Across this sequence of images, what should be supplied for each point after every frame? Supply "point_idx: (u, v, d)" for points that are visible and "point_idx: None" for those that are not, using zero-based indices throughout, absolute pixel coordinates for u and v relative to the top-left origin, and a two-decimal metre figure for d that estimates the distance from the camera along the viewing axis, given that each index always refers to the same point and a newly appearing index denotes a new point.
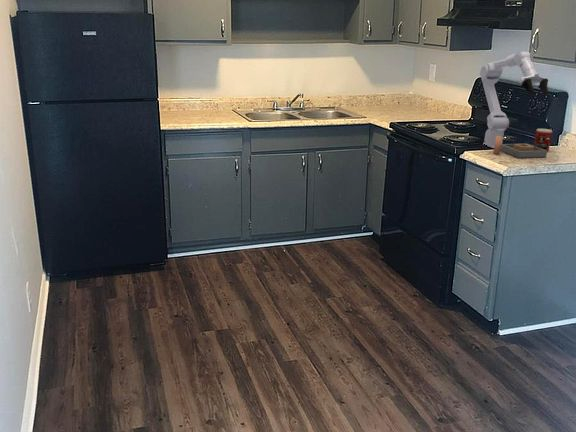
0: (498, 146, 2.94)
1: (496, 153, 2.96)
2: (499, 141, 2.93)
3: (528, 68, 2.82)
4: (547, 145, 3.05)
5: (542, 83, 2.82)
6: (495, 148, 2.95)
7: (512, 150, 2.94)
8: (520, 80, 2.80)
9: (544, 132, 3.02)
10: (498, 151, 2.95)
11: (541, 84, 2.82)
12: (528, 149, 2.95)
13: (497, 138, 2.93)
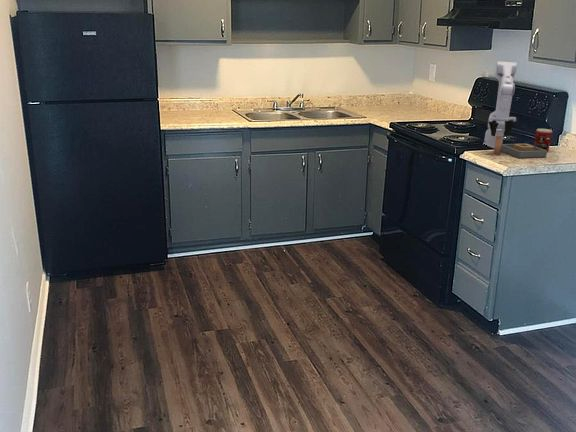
0: (498, 146, 2.94)
1: (496, 153, 2.96)
2: (499, 141, 2.93)
3: (500, 108, 2.88)
4: (547, 145, 3.05)
5: (508, 124, 2.92)
6: (495, 148, 2.95)
7: (512, 150, 2.94)
8: (489, 119, 2.89)
9: (544, 132, 3.02)
10: (498, 151, 2.95)
11: (507, 123, 2.93)
12: (528, 149, 2.95)
13: (497, 138, 2.93)
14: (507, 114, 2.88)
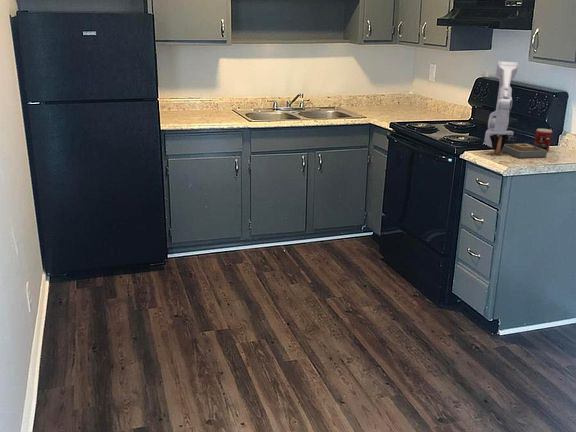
0: (498, 146, 2.94)
1: (496, 153, 2.96)
2: (499, 141, 2.93)
3: (498, 122, 2.90)
4: (547, 145, 3.05)
5: (502, 138, 2.94)
6: None
7: (512, 150, 2.94)
8: (487, 133, 2.91)
9: (544, 132, 3.02)
10: (498, 151, 2.95)
11: None
12: (528, 149, 2.95)
13: None
14: (504, 128, 2.90)
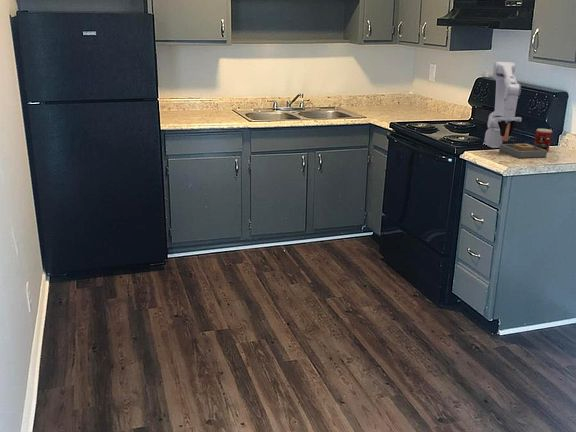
0: (506, 132, 2.92)
1: (504, 139, 2.94)
2: (507, 127, 2.91)
3: (507, 108, 2.88)
4: (547, 145, 3.05)
5: (510, 124, 2.92)
6: None
7: (512, 150, 2.94)
8: (495, 119, 2.90)
9: (544, 132, 3.02)
10: (506, 138, 2.93)
11: None
12: (528, 149, 2.95)
13: None
14: (513, 114, 2.88)
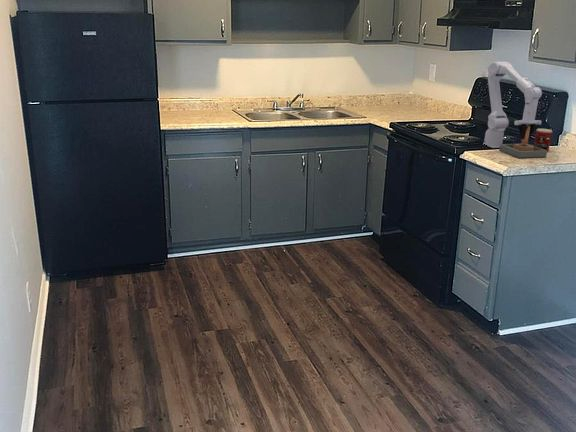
0: (526, 135, 2.94)
1: (524, 142, 2.96)
2: (527, 130, 2.94)
3: (531, 112, 2.89)
4: (547, 145, 3.05)
5: (530, 127, 2.94)
6: None
7: (512, 150, 2.94)
8: (515, 122, 2.92)
9: (544, 132, 3.02)
10: (526, 141, 2.95)
11: None
12: (528, 149, 2.95)
13: None
14: (533, 117, 2.90)
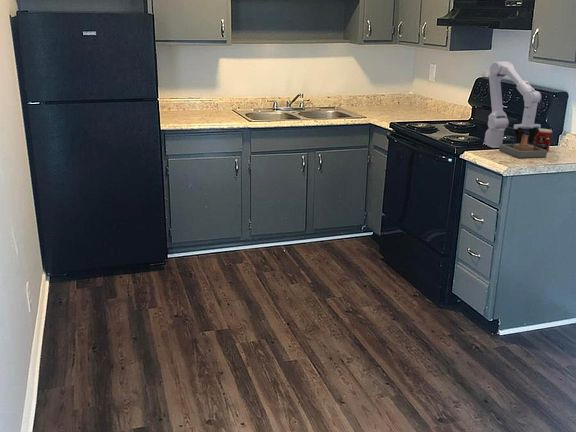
0: (524, 144, 2.96)
1: None
2: (525, 139, 2.96)
3: (530, 116, 2.90)
4: (547, 145, 3.05)
5: (532, 131, 2.95)
6: None
7: (512, 150, 2.94)
8: (514, 126, 2.92)
9: (544, 132, 3.02)
10: None
11: (531, 131, 2.96)
12: (528, 149, 2.95)
13: (523, 136, 2.96)
14: (532, 121, 2.91)
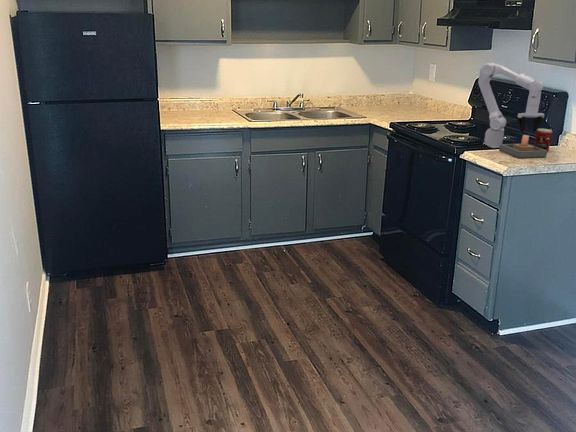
0: (525, 145, 2.96)
1: None
2: (526, 140, 2.95)
3: (536, 105, 2.95)
4: (547, 145, 3.05)
5: (537, 120, 3.01)
6: None
7: (512, 150, 2.94)
8: (518, 115, 2.98)
9: (544, 132, 3.02)
10: None
11: (536, 119, 3.02)
12: (528, 149, 2.95)
13: (524, 137, 2.95)
14: (536, 110, 2.97)
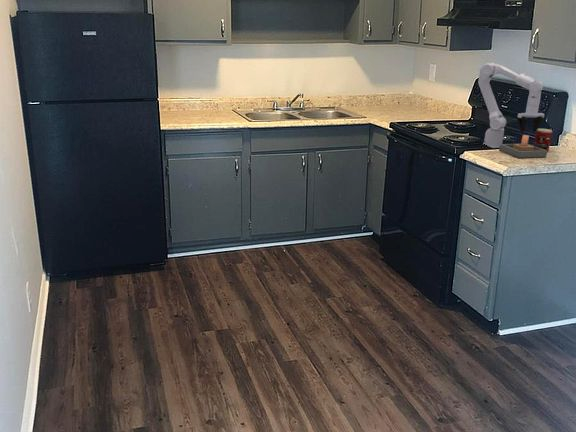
0: (525, 145, 2.96)
1: None
2: (526, 140, 2.95)
3: (536, 105, 2.95)
4: (547, 145, 3.05)
5: (537, 120, 3.01)
6: None
7: (512, 150, 2.94)
8: (518, 115, 2.98)
9: (544, 132, 3.02)
10: None
11: (536, 119, 3.02)
12: (528, 149, 2.95)
13: (524, 137, 2.95)
14: (536, 110, 2.97)
